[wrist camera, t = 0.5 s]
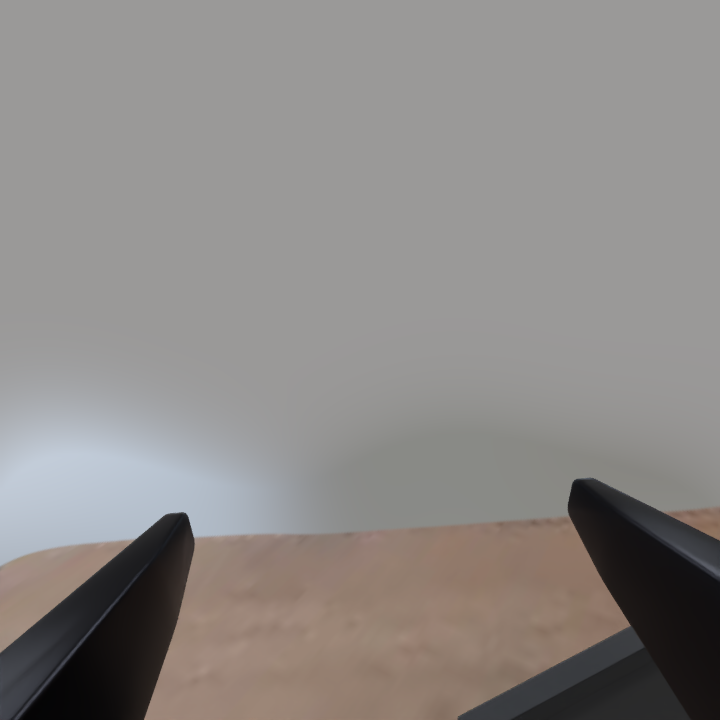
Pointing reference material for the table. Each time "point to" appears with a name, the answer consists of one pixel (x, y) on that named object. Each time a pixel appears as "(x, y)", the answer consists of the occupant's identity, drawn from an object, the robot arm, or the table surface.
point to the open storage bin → (591, 688)
